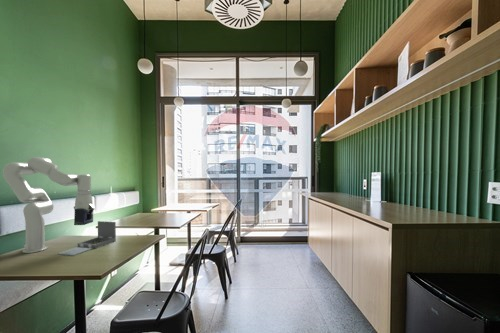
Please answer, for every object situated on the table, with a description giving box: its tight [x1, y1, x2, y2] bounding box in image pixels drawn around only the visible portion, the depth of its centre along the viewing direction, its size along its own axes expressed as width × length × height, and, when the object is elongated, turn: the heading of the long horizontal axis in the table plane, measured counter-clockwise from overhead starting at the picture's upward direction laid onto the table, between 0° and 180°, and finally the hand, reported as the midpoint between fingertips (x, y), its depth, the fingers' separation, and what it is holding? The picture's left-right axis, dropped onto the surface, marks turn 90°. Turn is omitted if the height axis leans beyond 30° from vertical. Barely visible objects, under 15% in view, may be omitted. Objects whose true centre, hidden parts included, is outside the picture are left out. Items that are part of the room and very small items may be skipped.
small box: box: [73, 208, 94, 226], centre depth 165 cm, size 11×6×10 cm, turn 1°
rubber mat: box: [57, 246, 94, 257], centre depth 158 cm, size 13×13×1 cm
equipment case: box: [77, 220, 117, 249], centre depth 173 cm, size 15×18×14 cm
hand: (84, 219), depth 165 cm, fingers closed on small box, 7 cm apart
